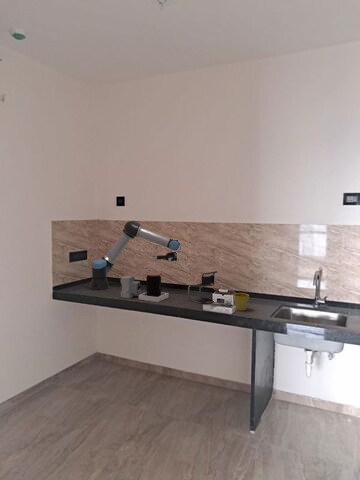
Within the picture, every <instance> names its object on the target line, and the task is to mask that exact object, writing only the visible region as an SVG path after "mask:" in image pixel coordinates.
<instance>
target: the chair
mask: <svg viewBox="0 0 360 480" xmlns="http://www.w3.org/2000/svg"><path fill="white" fill-rule="evenodd" d="M217 273H218V271H217V270H214V271H210V272H202V274H201V283H198V284H190V285H189V286H188V288H187V292H188V293H187V298H188V300H189V301H191V302H194V303H199V304H202V305H205V304H204V303H205V302H204V301H199V300H195V299H191V297H190V296H191V295H190V294H191V293H190V292H191V290H190V289H191V288H196V289H199V293H198V295H199V297H200V298H201V299H203V300H208V301H211V300H212V298H210V297H209V298H208V297H203V296H202V288H204V287H213V286H214V285H215V274H217ZM204 275H209V276H204Z"/></svg>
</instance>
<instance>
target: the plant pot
mask: <svg viewBox="0 0 360 480" xmlns="http://www.w3.org/2000/svg"><path fill="white" fill-rule="evenodd" d="M232 300H233V301H234V302H233V303H234V307H235V306H236V308H235V310H236V311H241V312H243V311H246V310H247V307H248V306H247V305H248V301H249V300H250V295H249V294H248V293H245V292H244V293H243V292H238V293H237V292H236V293H233V294H232Z"/></svg>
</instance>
